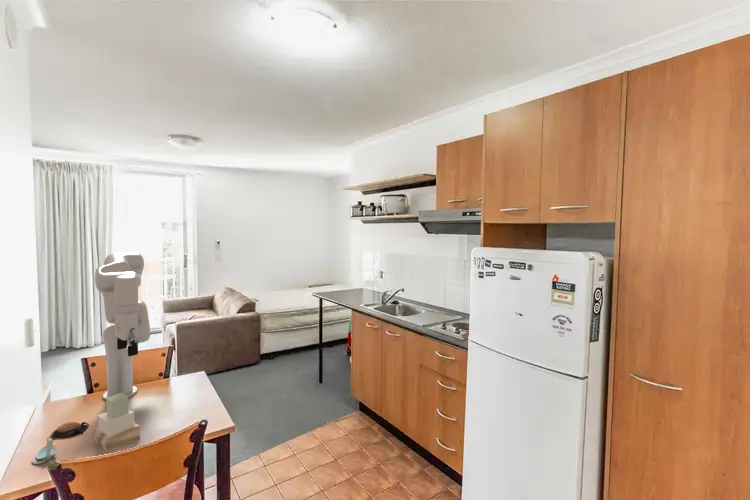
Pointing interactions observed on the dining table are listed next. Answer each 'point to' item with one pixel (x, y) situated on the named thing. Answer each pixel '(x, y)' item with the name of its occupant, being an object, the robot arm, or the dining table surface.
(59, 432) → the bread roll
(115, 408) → the sage block
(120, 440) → the tower base
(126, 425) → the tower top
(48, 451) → the pacifier
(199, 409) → the dining table surface
